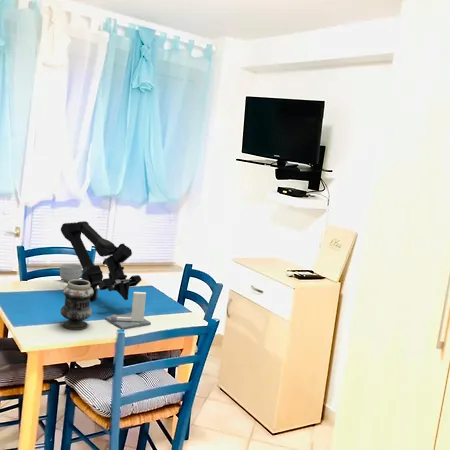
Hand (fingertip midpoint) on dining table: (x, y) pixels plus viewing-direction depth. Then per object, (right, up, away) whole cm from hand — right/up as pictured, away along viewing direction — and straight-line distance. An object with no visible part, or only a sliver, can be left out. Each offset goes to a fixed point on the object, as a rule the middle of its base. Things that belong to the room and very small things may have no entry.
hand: (126, 299), depth 233 cm
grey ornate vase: (-18, -8, -17) cm, 25 cm away
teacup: (-35, +4, +43) cm, 55 cm away
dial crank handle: (+2, -7, -8) cm, 11 cm away
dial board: (+2, -8, -6) cm, 10 cm away
